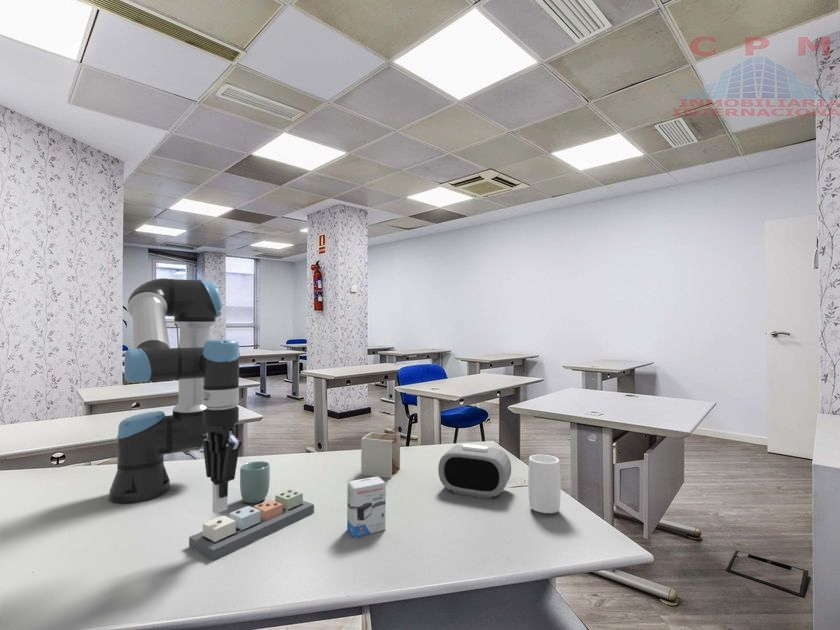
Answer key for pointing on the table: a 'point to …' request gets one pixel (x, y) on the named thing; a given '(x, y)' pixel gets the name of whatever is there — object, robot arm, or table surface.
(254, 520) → the tile
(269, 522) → the board
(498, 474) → the alarm clock
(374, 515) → the ink box
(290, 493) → the tile
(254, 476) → the cup
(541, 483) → the cup
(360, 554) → the table surface
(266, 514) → the tile
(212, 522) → the tile
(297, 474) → the table surface
